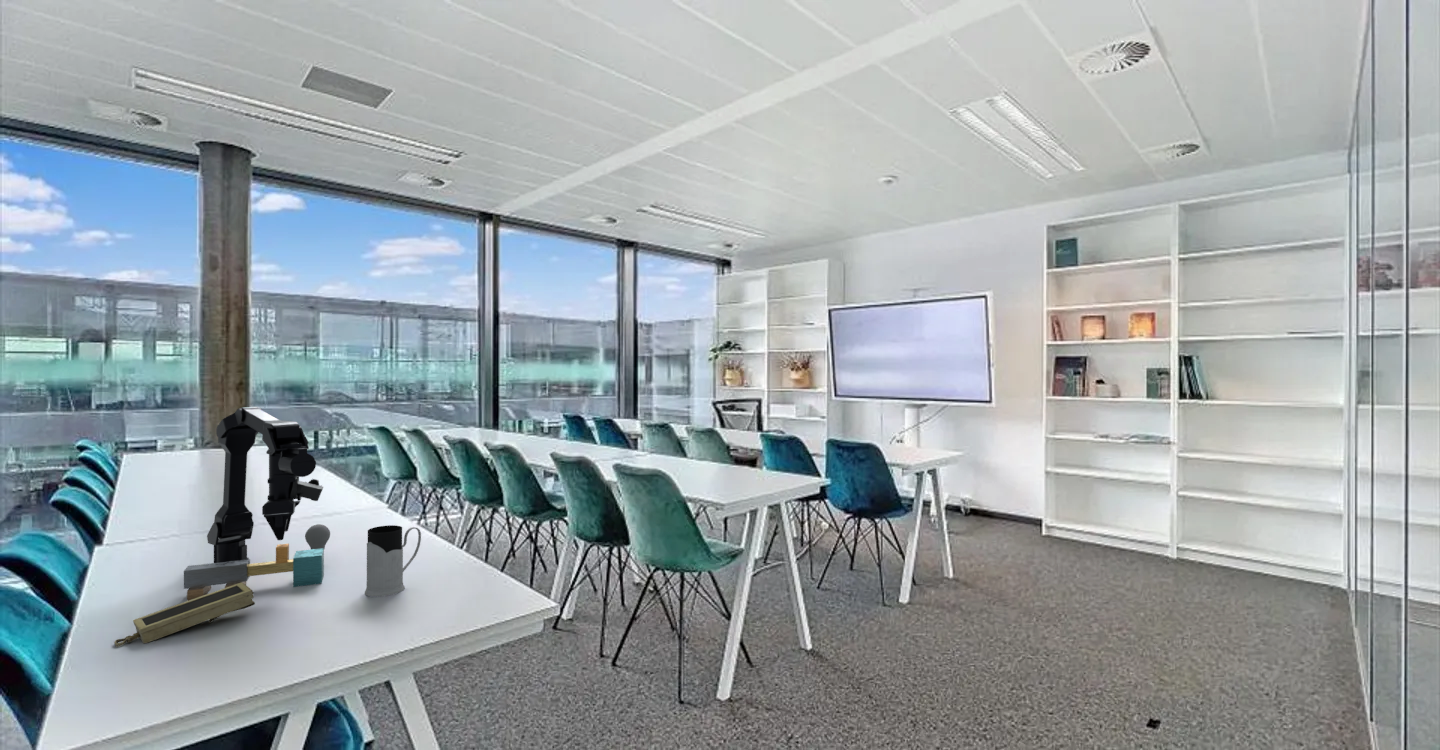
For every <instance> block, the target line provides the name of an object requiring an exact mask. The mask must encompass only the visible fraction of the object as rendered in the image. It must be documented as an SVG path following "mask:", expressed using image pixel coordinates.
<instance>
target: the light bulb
mask: <svg viewBox="0 0 1440 750" xmlns="http://www.w3.org/2000/svg"><path fill="white" fill-rule="evenodd" d="M330 537H331V531H330V528H329V527H327V526H326V525H324V524H319V523H317V524H315V525H311V526H310V527H309V528H308V529H307V530H306V532H305V534H304V538H305V542H306V543H307V545H309V547H310V550H311V549H321V548H324V550H325V549H326V545H327V543H328V541H329V540H330Z"/></svg>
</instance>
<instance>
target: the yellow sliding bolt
mask: <svg viewBox="0 0 1440 750" xmlns="http://www.w3.org/2000/svg"><path fill="white" fill-rule="evenodd" d="M289 572H293V558H292V559H290V543H282V544H281V543H279V544H277V545H276V546H275V560H273V561H265V562H256V563H255V562H254V563H250V564H248V565H247V577H248V576H250V577H255V576H264V575H272V574H279V573H280V574H281V573H289Z"/></svg>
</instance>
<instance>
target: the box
mask: <svg viewBox="0 0 1440 750" xmlns="http://www.w3.org/2000/svg"><path fill="white" fill-rule="evenodd" d="M254 593H255V592H254V591H253V589H252V588H250V587H249V586H247V584H246V585H245V584H244V583H238V584H235V585H232V586H230V587H227V588H225V587H223V588H221V589H219V590H216V591H213V592H208V593H207V594H206V595H203V596H201V597H198V598H195V599H192V600H189V601H187V600H186V601H183V602H180V603H177V604H174V605H171V606H168V607H167V608H162V609H161V610H158V611H154V612H152V613H149V614H146V615H143V616H140V617H138V618H135V619H132V622H133V625H134V626H135V631H136V632H135V633H133V634H132V635H127V636H125V637H124V638H117V639H115V640H114V641H113V643H114V645H115V648H119V647H122V646H123V645H125V644H126V643H127V644H128V643H132V642H133V641H135V640H138V639H140V641H142V643H143V644H148V643H150V642H153V641H157V640H158V639H161V638H164V637H166V636H169V635H172V634H174V633H177V632H180V631H183V630H185V629H187V628H190V627H194V626H195V625H198V624H201V623H204V622H208V624H211V623H212V622H214V621H215V620H217V619H218V618H220V617H222V616H224V615H226V614H229V613H233V612H237V611H241V610H244V609H248V608H251V607H252V606H255V604H256V602H255V601H253V598H254Z"/></svg>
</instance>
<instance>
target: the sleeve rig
mask: <svg viewBox="0 0 1440 750" xmlns="http://www.w3.org/2000/svg"><path fill="white" fill-rule="evenodd" d="M324 552H325V549H324V548H321V549H311V548H310V549H304V550H296V551H295V553H294V555H293V557H292V559H293V571H292V587H293V588H296V587H303V586H306V587H307V586H311V585H312V586H314V585H322V583H323V579H324V575H325V573H324V572H325V564H324V563H325V561H324V560H325V553H324ZM248 564H251V559H250V558H249V559H248V560H239V561H229V562H220V563H214V562H212V563H210V562H209V563H203V564H201V563H200V564H193V565H192V564H191V565H188V566H187V567H186V568H185V569H184V570H183V590H186V589H187V590H186V594H187V595H186V601H189V600H192V599H195V598H198V597H201V596H203V595H206V594H209V593H210V591H211V589H212V586H218V585H224V588H227V587H230V586H232V585H235V584H238V583H244V584H245V585H246V586H247V582H248V580H249V578H250V577H251V576H248V577H247V565H248Z"/></svg>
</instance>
